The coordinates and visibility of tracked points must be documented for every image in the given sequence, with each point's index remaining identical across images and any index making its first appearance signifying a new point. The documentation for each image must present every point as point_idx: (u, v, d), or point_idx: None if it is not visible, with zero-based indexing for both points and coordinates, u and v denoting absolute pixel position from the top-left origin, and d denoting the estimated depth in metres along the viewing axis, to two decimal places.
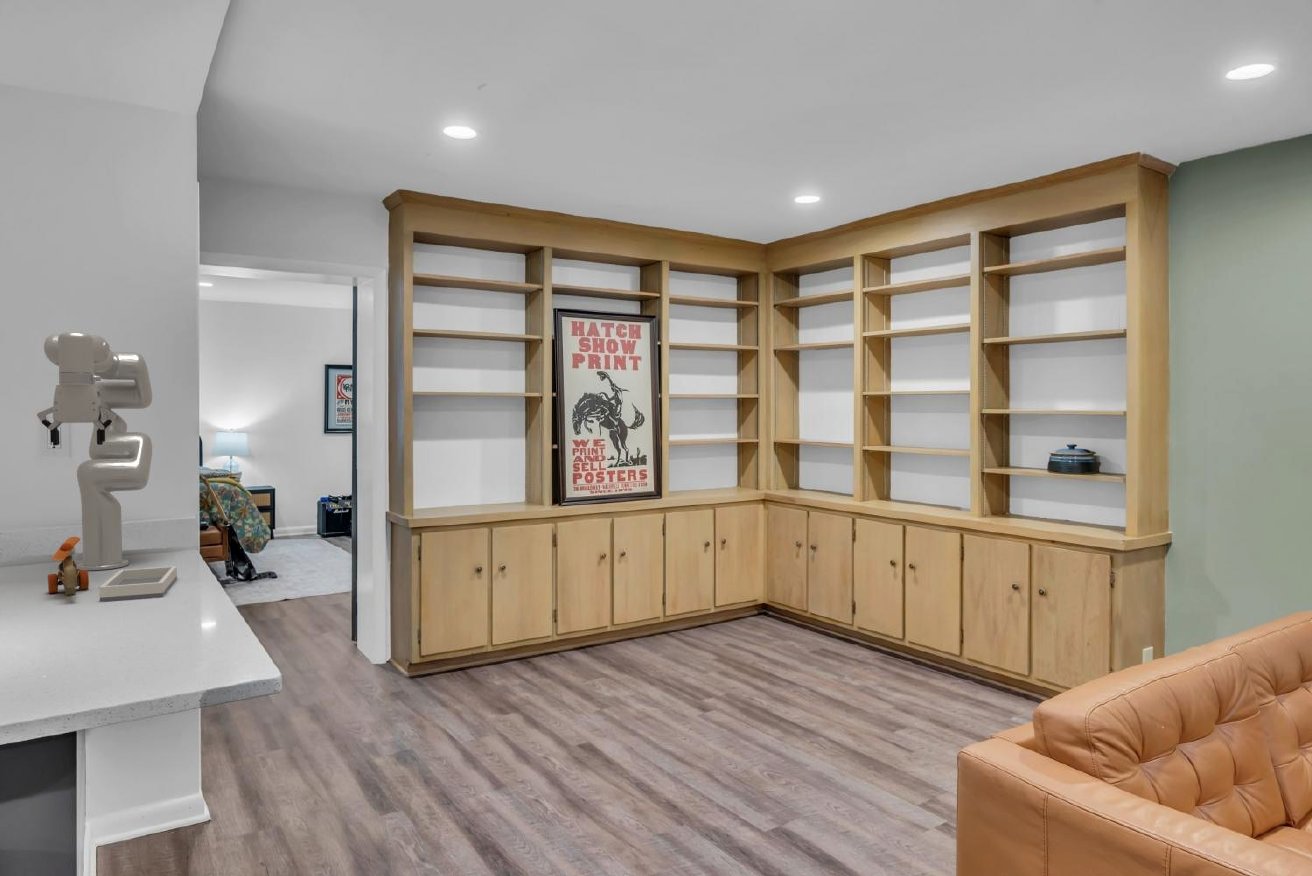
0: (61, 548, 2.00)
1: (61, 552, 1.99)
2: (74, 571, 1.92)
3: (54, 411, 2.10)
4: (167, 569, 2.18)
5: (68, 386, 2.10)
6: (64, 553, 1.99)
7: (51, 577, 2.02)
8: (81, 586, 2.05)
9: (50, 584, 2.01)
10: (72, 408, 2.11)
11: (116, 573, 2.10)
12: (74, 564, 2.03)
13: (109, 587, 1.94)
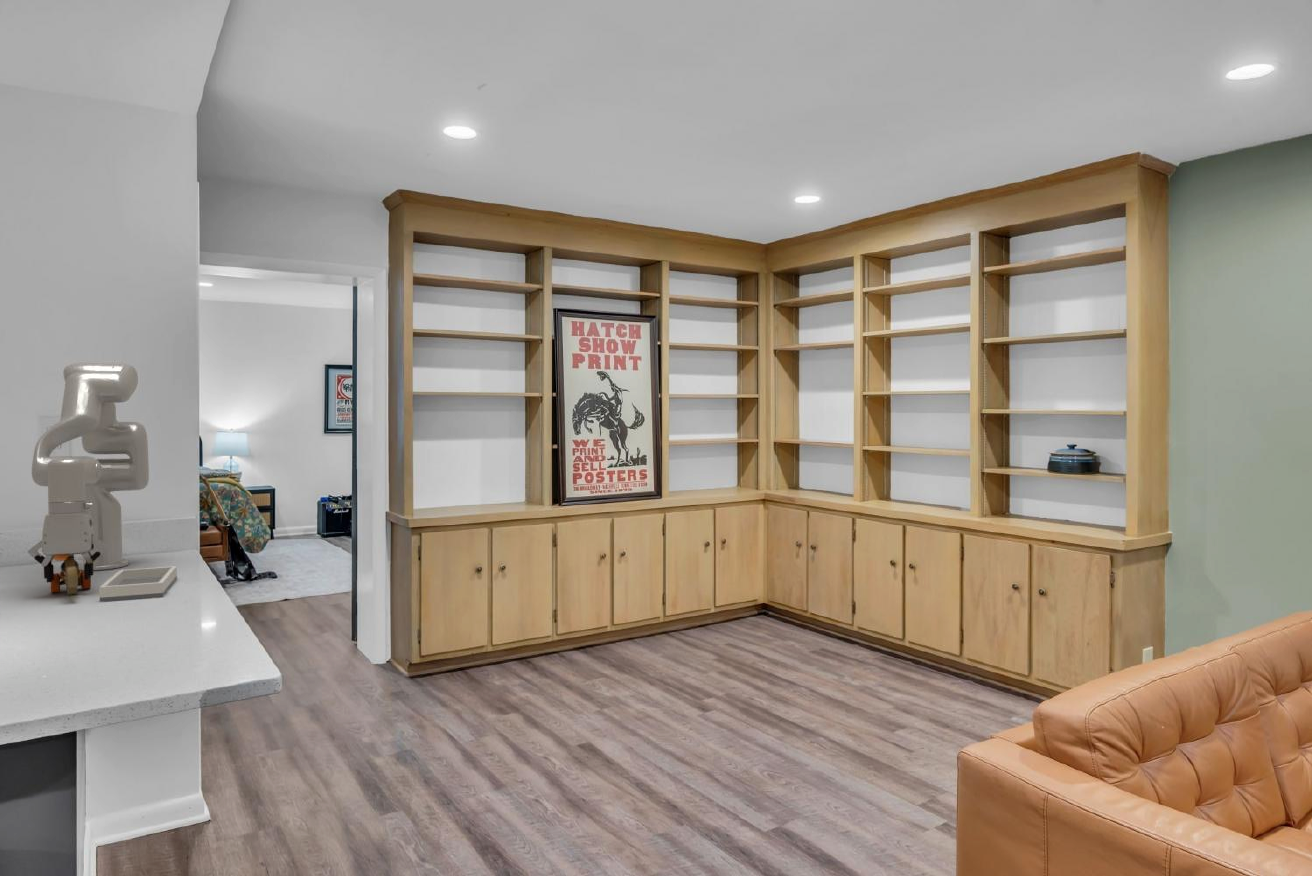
0: None
1: None
2: (75, 571, 1.92)
3: (43, 544, 1.96)
4: (167, 569, 2.18)
5: (58, 517, 1.97)
6: None
7: None
8: (83, 586, 2.05)
9: (52, 584, 2.01)
10: (62, 540, 1.98)
11: (116, 573, 2.10)
12: (76, 564, 2.03)
13: (109, 587, 1.94)
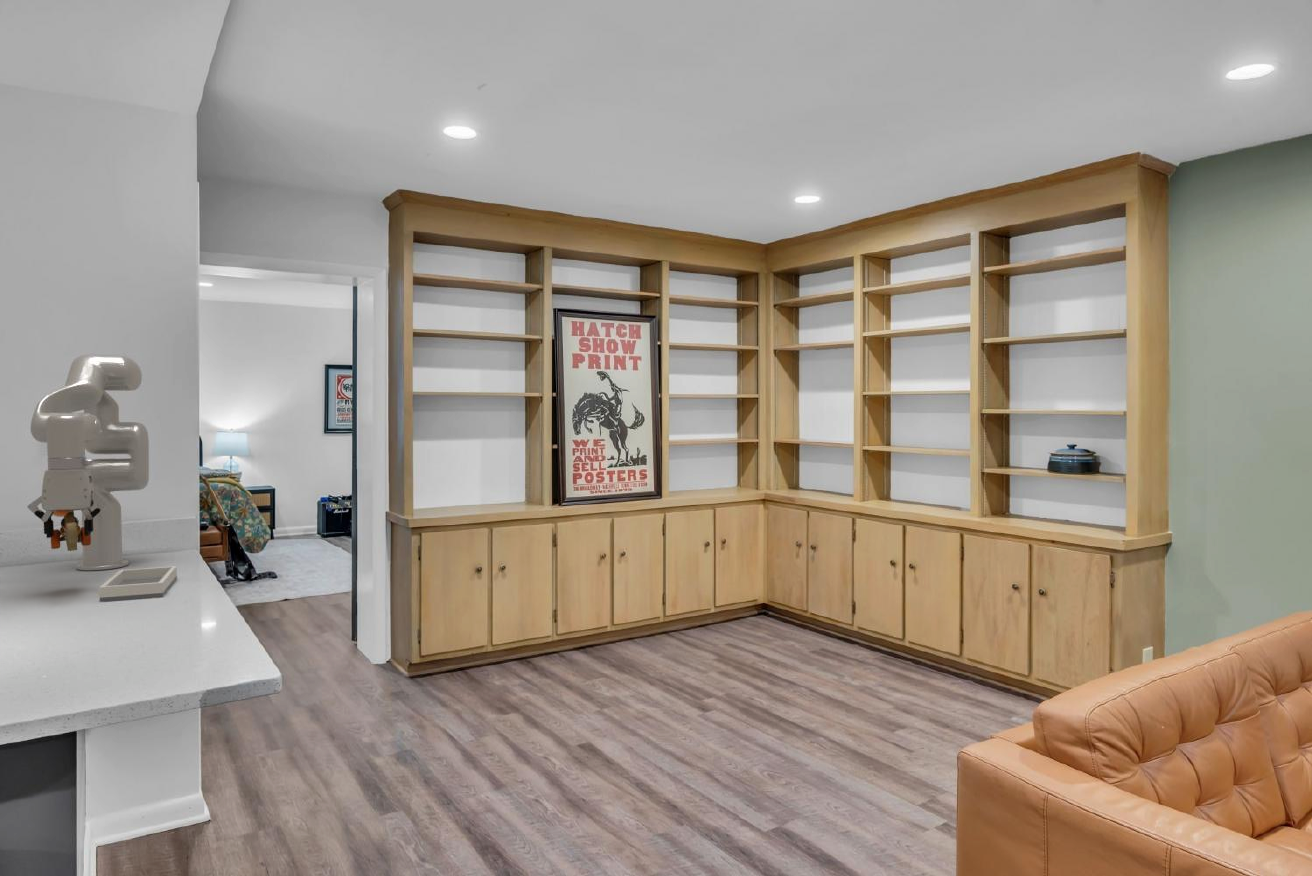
0: None
1: None
2: (75, 527, 1.93)
3: (43, 499, 1.96)
4: (167, 569, 2.18)
5: (57, 473, 1.97)
6: None
7: None
8: (83, 542, 2.06)
9: (52, 539, 2.02)
10: (62, 496, 1.98)
11: (116, 573, 2.10)
12: (76, 520, 2.04)
13: (109, 587, 1.94)
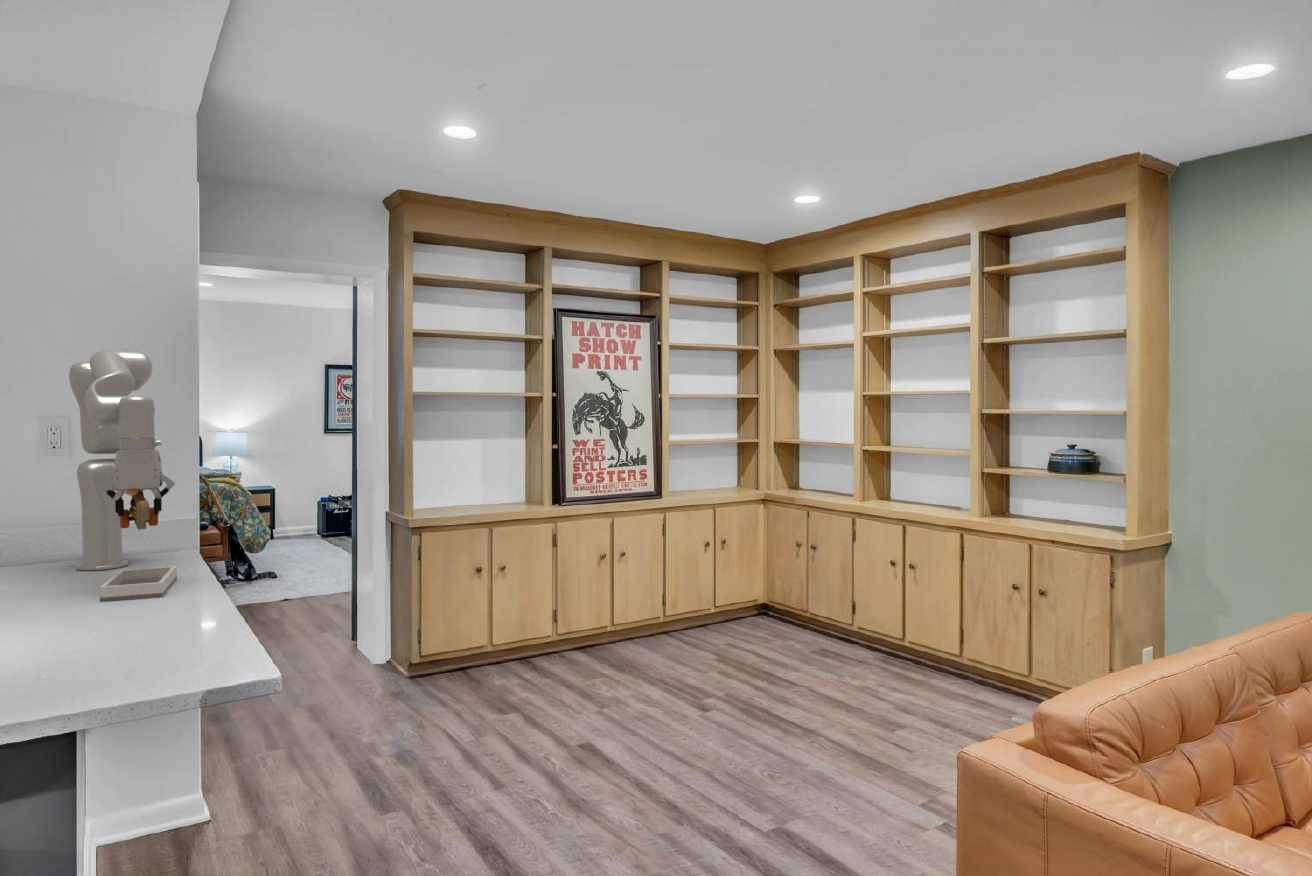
0: None
1: None
2: (147, 504, 1.98)
3: (115, 479, 2.02)
4: (167, 569, 2.18)
5: (129, 452, 2.03)
6: None
7: None
8: (151, 522, 2.11)
9: (122, 519, 2.07)
10: (133, 475, 2.03)
11: (116, 573, 2.10)
12: (145, 500, 2.09)
13: (109, 587, 1.94)
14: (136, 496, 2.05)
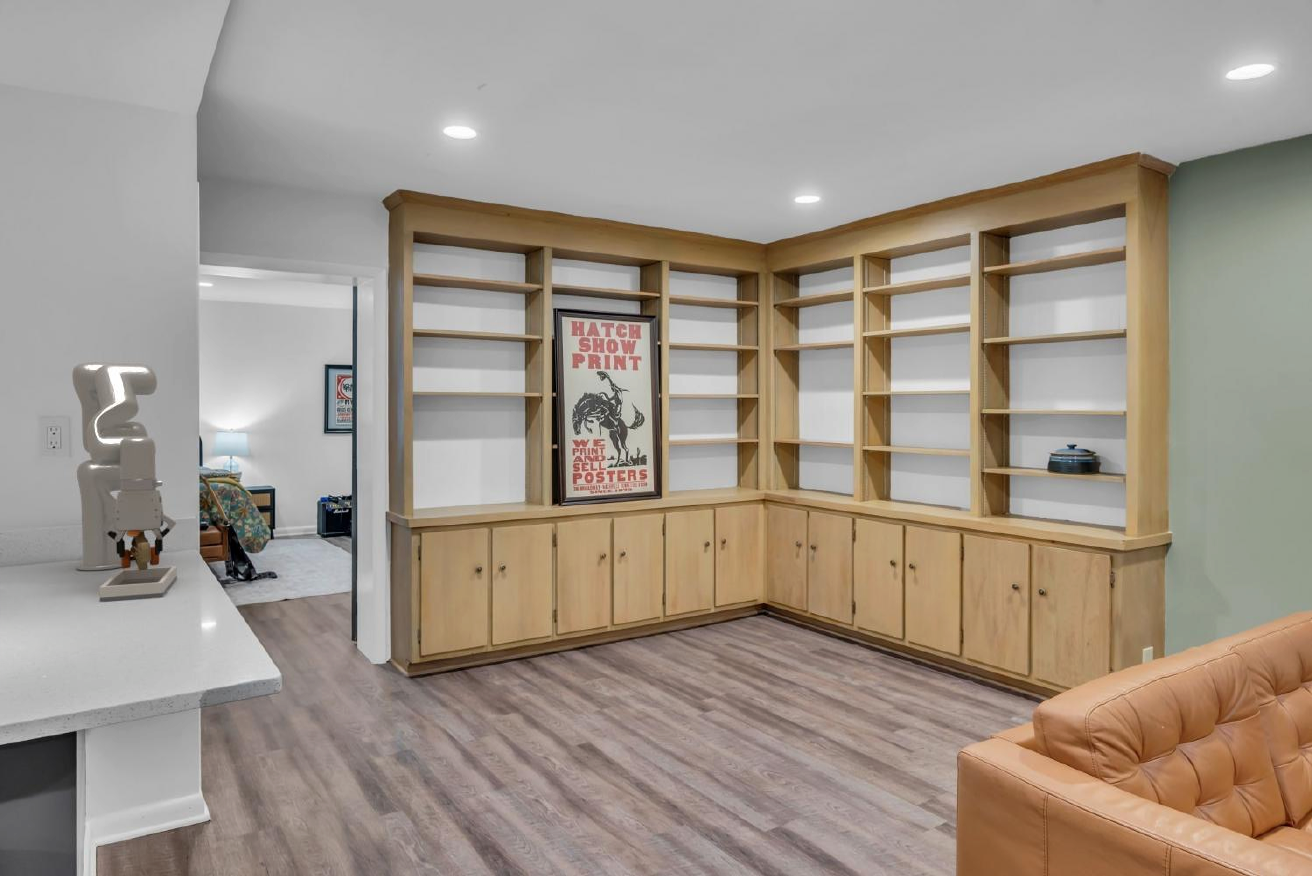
0: None
1: None
2: (148, 546, 1.98)
3: (116, 520, 2.02)
4: (167, 569, 2.18)
5: (130, 494, 2.03)
6: None
7: None
8: (152, 562, 2.11)
9: (123, 559, 2.07)
10: (134, 516, 2.03)
11: (116, 573, 2.10)
12: (146, 540, 2.09)
13: (109, 587, 1.94)
14: (137, 537, 2.06)
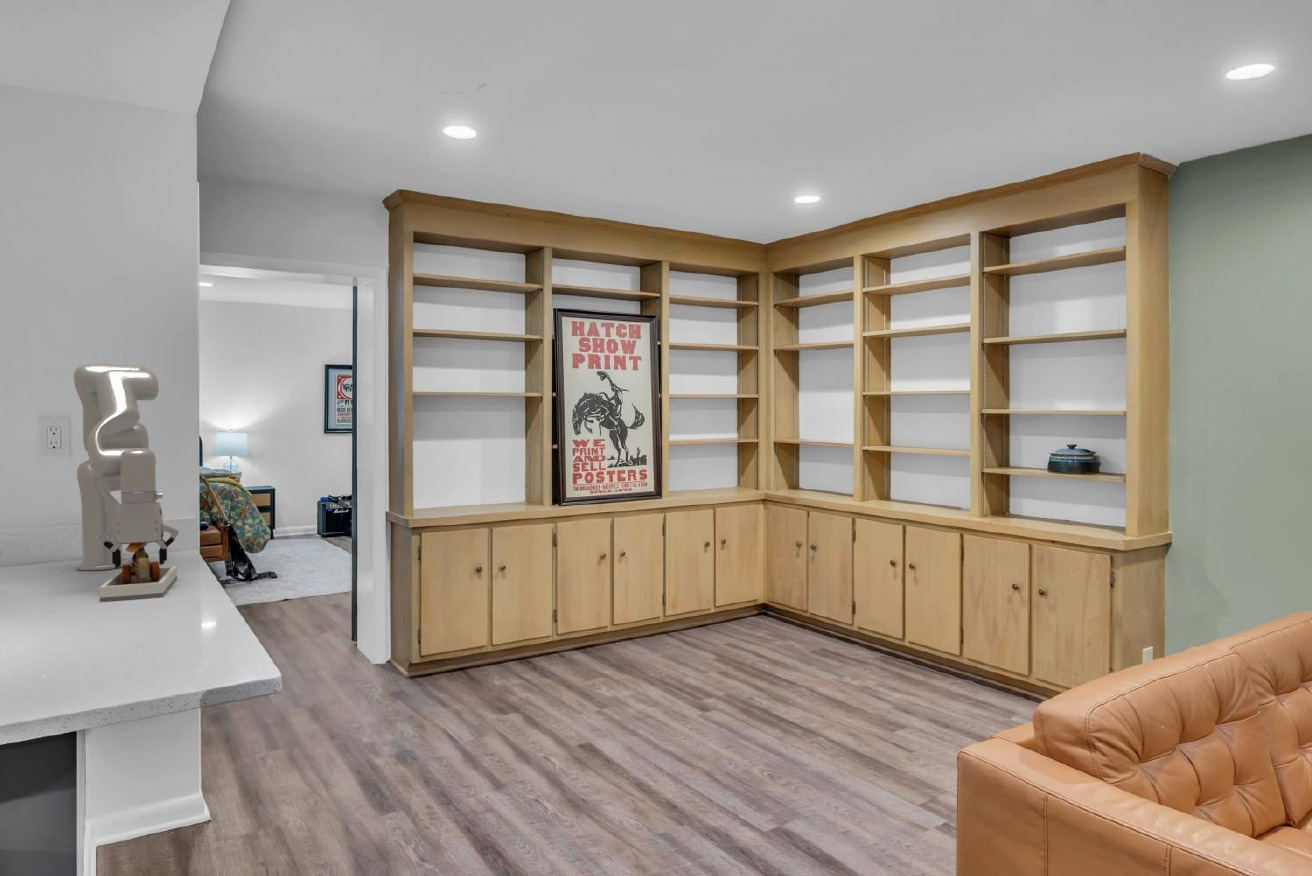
0: None
1: (134, 543, 2.05)
2: (147, 562, 1.98)
3: (116, 532, 2.02)
4: (167, 569, 2.18)
5: (130, 506, 2.03)
6: (137, 544, 2.05)
7: (125, 568, 2.08)
8: (153, 577, 2.12)
9: (124, 574, 2.07)
10: (134, 529, 2.03)
11: (116, 573, 2.10)
12: (146, 555, 2.09)
13: (109, 587, 1.94)
14: (137, 552, 2.06)
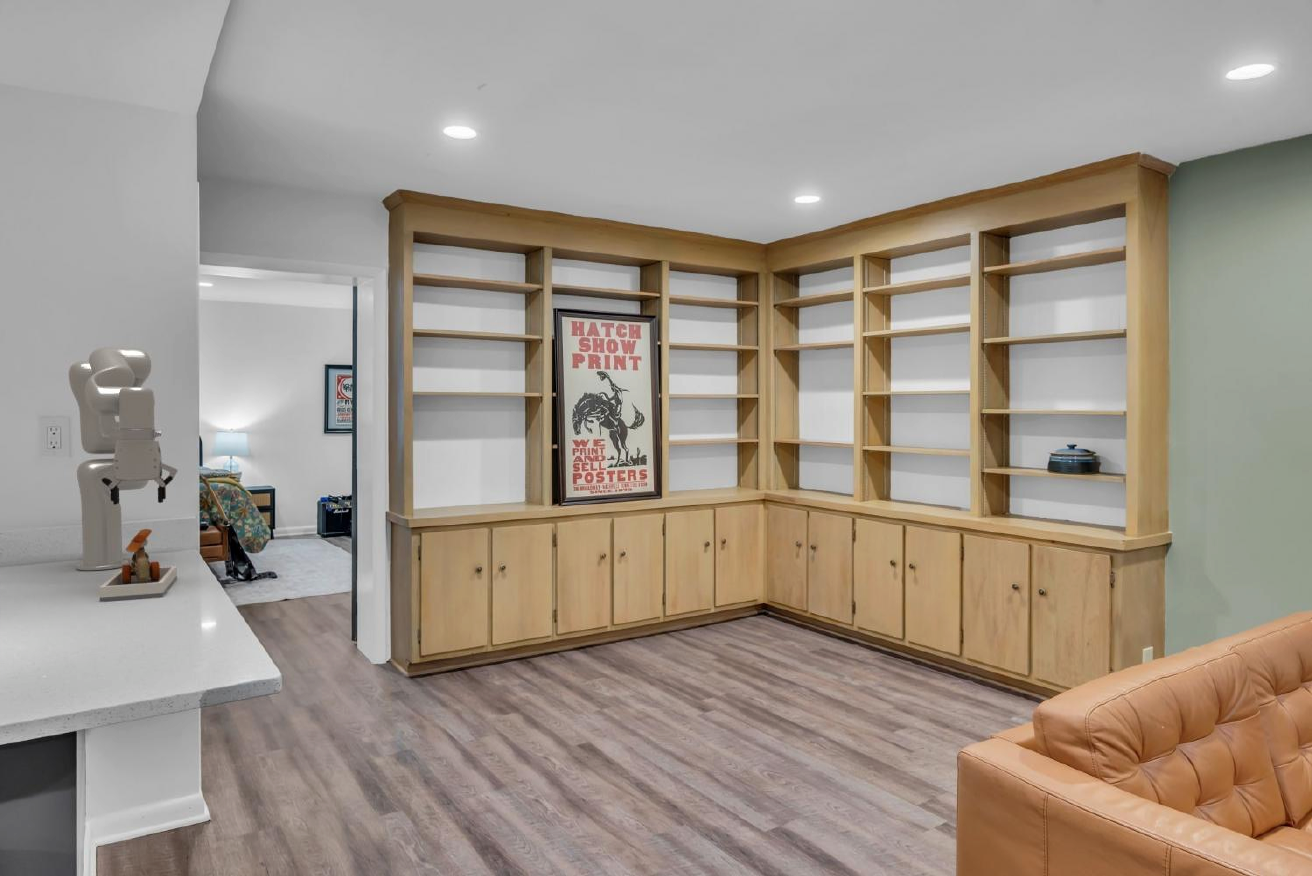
0: (134, 540, 2.06)
1: (134, 543, 2.05)
2: (146, 562, 1.98)
3: (115, 469, 2.02)
4: (167, 569, 2.18)
5: (129, 443, 2.02)
6: (137, 544, 2.05)
7: (125, 568, 2.08)
8: (153, 577, 2.12)
9: (124, 574, 2.07)
10: (133, 466, 2.03)
11: (116, 573, 2.10)
12: (146, 555, 2.09)
13: (109, 587, 1.94)
14: (137, 552, 2.06)
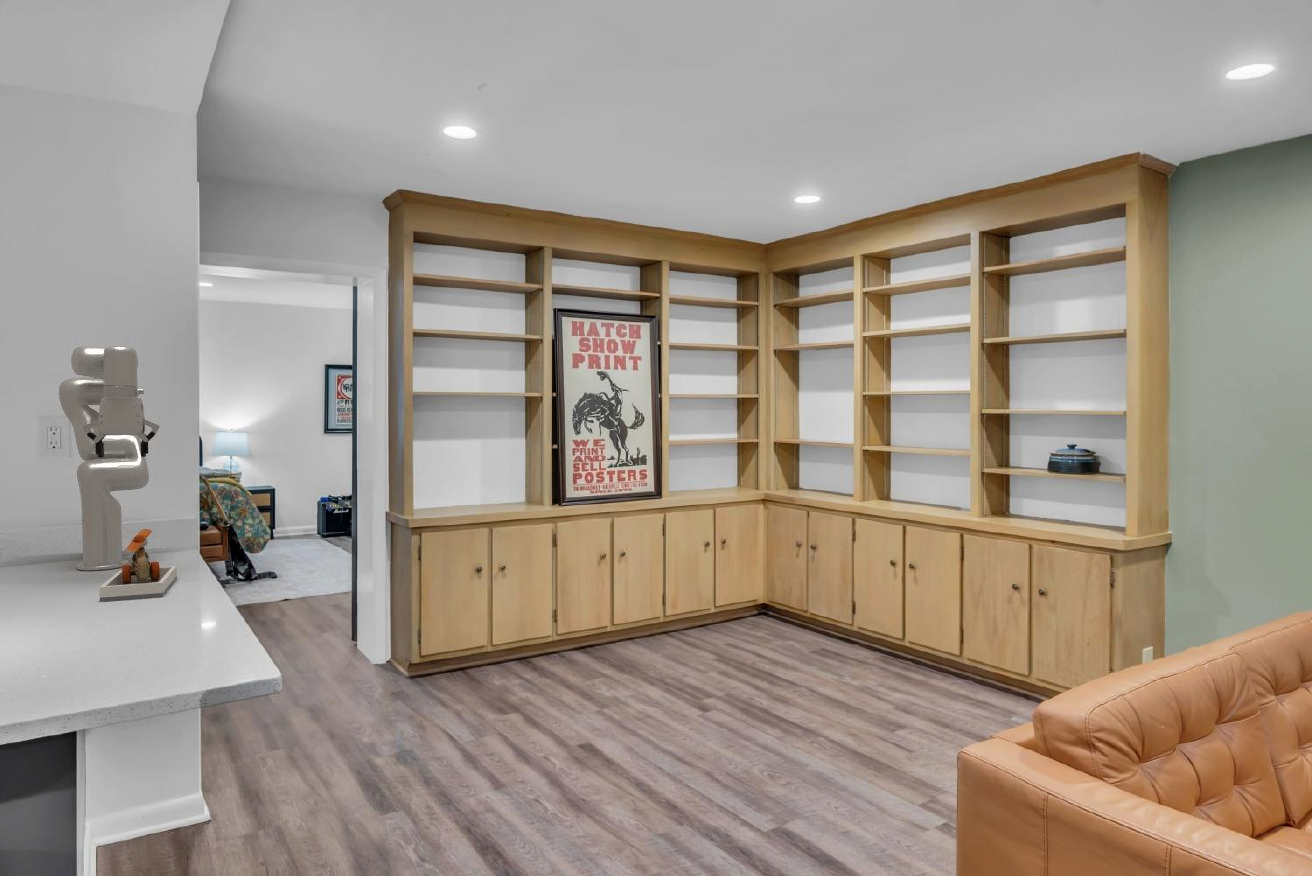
0: (134, 540, 2.06)
1: (134, 543, 2.05)
2: (146, 562, 1.98)
3: (99, 424, 2.13)
4: (167, 569, 2.18)
5: (113, 399, 2.13)
6: (137, 544, 2.05)
7: (125, 568, 2.08)
8: (153, 577, 2.12)
9: (124, 574, 2.07)
10: (117, 421, 2.14)
11: (116, 573, 2.10)
12: (146, 555, 2.09)
13: (109, 587, 1.94)
14: (137, 552, 2.06)
